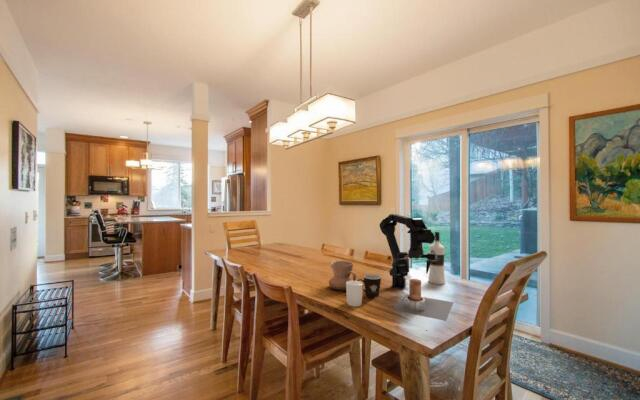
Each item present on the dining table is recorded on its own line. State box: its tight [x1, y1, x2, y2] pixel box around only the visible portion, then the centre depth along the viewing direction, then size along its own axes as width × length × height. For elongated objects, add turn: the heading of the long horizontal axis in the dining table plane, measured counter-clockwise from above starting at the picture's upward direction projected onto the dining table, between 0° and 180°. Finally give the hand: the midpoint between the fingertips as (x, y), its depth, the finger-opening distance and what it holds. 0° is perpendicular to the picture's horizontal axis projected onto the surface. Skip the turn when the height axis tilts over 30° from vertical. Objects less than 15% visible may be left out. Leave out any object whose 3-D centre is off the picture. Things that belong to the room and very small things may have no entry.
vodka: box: [428, 231, 446, 285], centre depth 173 cm, size 9×9×30 cm
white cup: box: [345, 280, 364, 308], centre depth 138 cm, size 8×8×10 cm
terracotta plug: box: [408, 278, 422, 301], centre depth 131 cm, size 5×5×12 cm
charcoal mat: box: [391, 293, 454, 321], centre depth 133 cm, size 22×24×1 cm
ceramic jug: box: [328, 260, 357, 291], centre depth 161 cm, size 18×14×14 cm
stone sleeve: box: [405, 296, 425, 311], centre depth 131 cm, size 8×8×4 cm
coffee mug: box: [356, 274, 382, 300], centre depth 149 cm, size 12×9×10 cm
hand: (417, 272), depth 151 cm, fingers open, 9 cm apart
